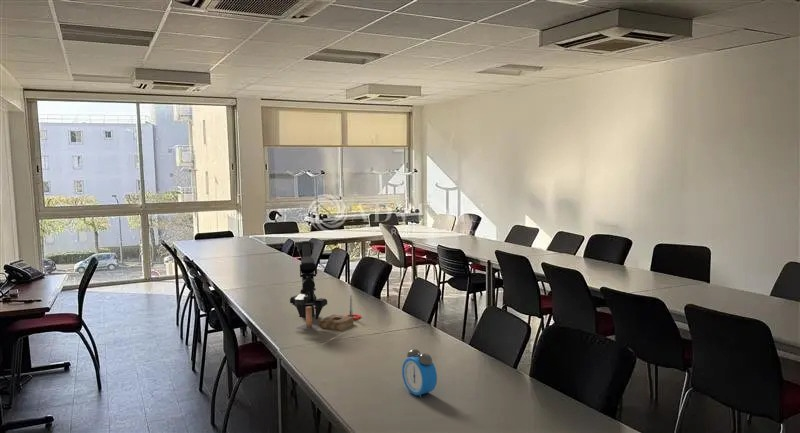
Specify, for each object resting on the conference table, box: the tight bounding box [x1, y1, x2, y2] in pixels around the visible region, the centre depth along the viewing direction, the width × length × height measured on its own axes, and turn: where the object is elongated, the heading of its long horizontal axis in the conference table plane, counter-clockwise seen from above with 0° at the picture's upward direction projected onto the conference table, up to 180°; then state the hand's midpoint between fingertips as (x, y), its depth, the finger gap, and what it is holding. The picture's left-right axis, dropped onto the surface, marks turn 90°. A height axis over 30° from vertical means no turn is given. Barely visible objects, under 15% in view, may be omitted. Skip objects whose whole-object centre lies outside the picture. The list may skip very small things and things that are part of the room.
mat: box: [296, 323, 320, 332], centre depth 283 cm, size 10×8×1 cm
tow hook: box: [345, 294, 362, 321], centre depth 300 cm, size 8×13×9 cm
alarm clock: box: [401, 348, 438, 398], centre depth 201 cm, size 13×6×15 cm, turn 35°
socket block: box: [319, 313, 354, 331], centre depth 285 cm, size 12×12×4 cm
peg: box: [305, 307, 313, 328], centre depth 282 cm, size 3×3×10 cm
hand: (308, 318), depth 282 cm, fingers open, 9 cm apart
